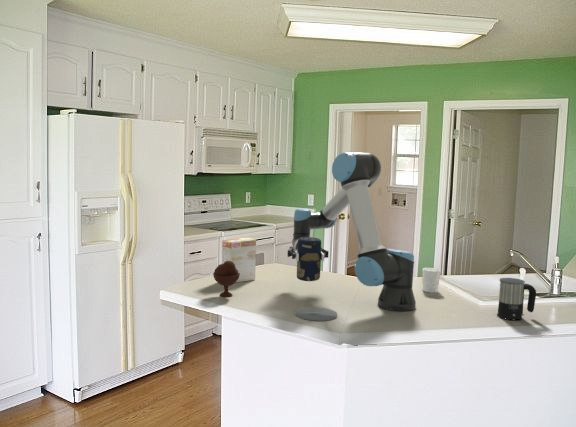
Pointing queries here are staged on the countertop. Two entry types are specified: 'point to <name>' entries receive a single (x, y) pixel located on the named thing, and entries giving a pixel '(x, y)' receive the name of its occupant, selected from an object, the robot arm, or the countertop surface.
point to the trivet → (316, 314)
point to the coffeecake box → (241, 256)
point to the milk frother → (514, 298)
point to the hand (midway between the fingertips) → (310, 257)
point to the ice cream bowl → (226, 276)
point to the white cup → (430, 279)
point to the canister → (309, 259)
